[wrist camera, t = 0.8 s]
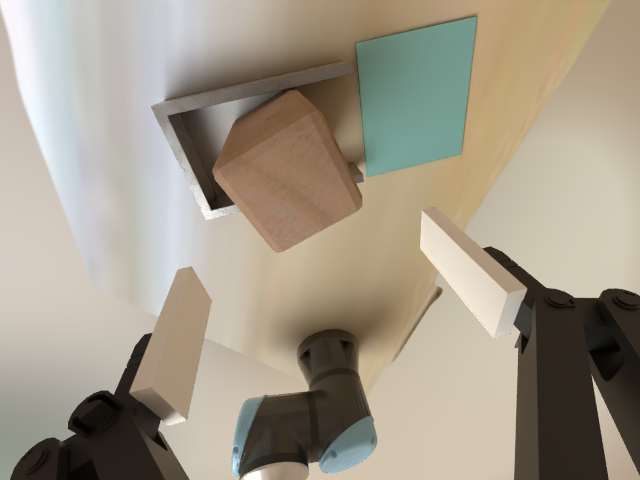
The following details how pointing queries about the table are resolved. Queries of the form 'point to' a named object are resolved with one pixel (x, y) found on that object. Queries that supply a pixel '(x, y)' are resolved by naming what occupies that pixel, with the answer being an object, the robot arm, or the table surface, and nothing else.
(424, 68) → the pad
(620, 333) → the robot arm
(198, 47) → the table surface
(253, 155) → the wooden block
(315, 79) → the chute
